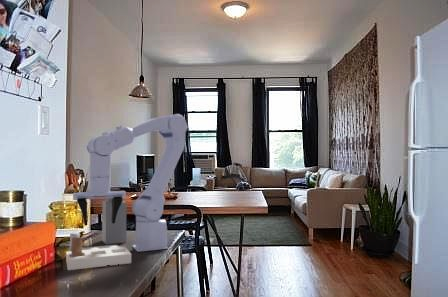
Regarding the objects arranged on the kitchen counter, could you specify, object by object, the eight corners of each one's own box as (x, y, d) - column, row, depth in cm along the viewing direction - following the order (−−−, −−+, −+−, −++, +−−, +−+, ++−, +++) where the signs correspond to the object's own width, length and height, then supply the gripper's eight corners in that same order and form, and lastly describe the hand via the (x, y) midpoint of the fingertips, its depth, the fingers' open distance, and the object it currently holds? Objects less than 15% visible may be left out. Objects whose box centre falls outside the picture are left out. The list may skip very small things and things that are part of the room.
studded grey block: (117, 249, 120) (117, 228, 120) (120, 253, 114) (120, 231, 114) (68, 254, 114) (68, 232, 114) (69, 259, 108) (69, 235, 108)
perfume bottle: (105, 244, 127) (106, 189, 127) (102, 240, 133) (102, 188, 133) (126, 242, 130) (126, 189, 130) (121, 238, 136) (122, 187, 136)
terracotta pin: (81, 262, 105) (81, 236, 105) (82, 265, 102) (82, 238, 102) (71, 263, 103) (71, 237, 104) (71, 266, 101) (71, 239, 101)
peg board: (124, 254, 113) (124, 246, 113) (131, 263, 104) (131, 253, 104) (66, 260, 106) (66, 251, 107) (67, 270, 97) (67, 260, 97)
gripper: (74, 178, 105) (73, 227, 105) (127, 177, 111) (127, 224, 111) (72, 177, 111) (72, 223, 111) (123, 176, 118) (123, 220, 117)
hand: (99, 223), depth 111 cm, fingers open, 7 cm apart
